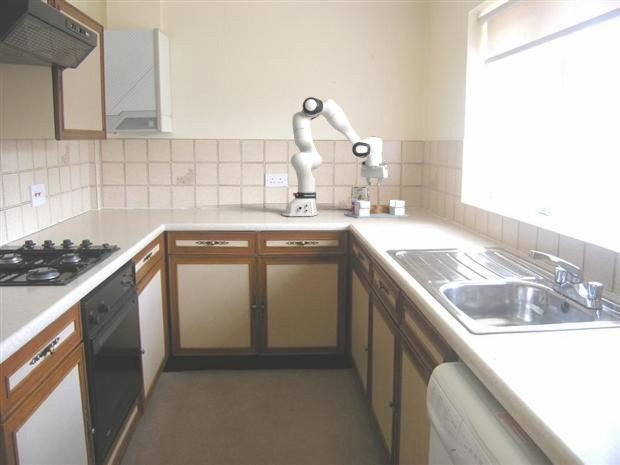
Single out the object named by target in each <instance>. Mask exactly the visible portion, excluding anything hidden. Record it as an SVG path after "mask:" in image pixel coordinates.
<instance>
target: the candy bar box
mask: <svg viewBox="0 0 620 465" xmlns="http://www.w3.org/2000/svg"><path fill="white" fill-rule="evenodd" d="M370 191H371V190H370V186H352V187H351V213H353V206H354V203H355V201H365V202H370V194H371V193H370Z"/></svg>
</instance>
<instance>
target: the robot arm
mask: <svg viewBox="0 0 620 465" xmlns="http://www.w3.org/2000/svg"><path fill="white" fill-rule="evenodd" d="M320 115H322V117H324V119H326V121H327V122H328V124H329V125H330V126H331V127H332V128H333V129H334V130H336V131H338V132H340V133H341V134H342V135H344V137H346V139H347V140H348V141H349V143H351V146H352V149H351V151H352V154H353V155H354V156H355V157H357V158H360V159H363V158H366V159H365V160H364V161H361V163H360V165H361V167H360V177H361V178H365V181H366V185H367V186H371V185H372V182H371V179H377V183H376V186H377V187H380V186H381V182H382V181H383V180H385V179H387V178H388V176H389V175H388V174H389V173H388V166H387V164H386V163H383V162H382V161H383V156H382V153H383V141H382V139H381V137H379V136H374V135H369V136H368V137H366V138H364V139H361V137H359V135H358V134H357V133H356V132H355V130H354V129H353V127H352V125H351V124H350V121H349V119H348V118H347V115H346V113H345V112H344V111H343V109H342V108H341V107H340V106H339V105H338V103H336V102H335V101H334V100H333V99H331V98H328V99H324V101H322V100H321V99H319V98H316V97H311V96H310V97H307V98H305V99H304V101H303V103H302V110H300V111H297V112H296V113H294V114H293V116H292V119H291V120H292V122H291V123H292V131H293V132H292V134H293V139H294V143H295V146H296V147H297V148H298V150H299V152H297V153H294V154H293V155H292V156H291V157H290V164H291V166H292V167H293V168H292V169H294V171H295V174H296V178H297V192H293V193H292V196H294V199H292V200H290V201H289V203H287V204H286V206H285V211H284V212H282V213H281V215H282V216H285V217H314V216H318V215H319V214H318V210H317V204H316V203H317V192H316V187H317V185H316V178H315V176H313V172H312V170H316V169H318V168H320V167H321V166H322V165H323V158H322V155H321V154H320V153H319V152H318V150H317V148H316V146H315V143H314V139H313V133H312V129H311V121H312V120H314V119H316V118H318V117H319V116H320Z"/></svg>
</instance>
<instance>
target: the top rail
mask: <svg viewBox="0 0 620 465" xmlns="http://www.w3.org/2000/svg"><path fill="white" fill-rule="evenodd" d="M352 213H353V214H355V207H354V206H353V212H352ZM379 213H390V206H389V204H370V212H369V214H379Z"/></svg>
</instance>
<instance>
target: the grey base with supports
mask: <svg viewBox="0 0 620 465" xmlns="http://www.w3.org/2000/svg"><path fill="white" fill-rule="evenodd" d="M370 205H371V201H369V202H365V201H355V203H354V207H355V214H353V212H344V214H343V215H344V216H347V217H351V218H355V219H377V218H378V219H379V218H381V219H382V218H403V217H404V218H408V217H409V214H406V213H405V210H406V209H405V207H406V200H401V199H390V200H389V203H388V205H389V206H390V213H379V214H369V212H370Z"/></svg>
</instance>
